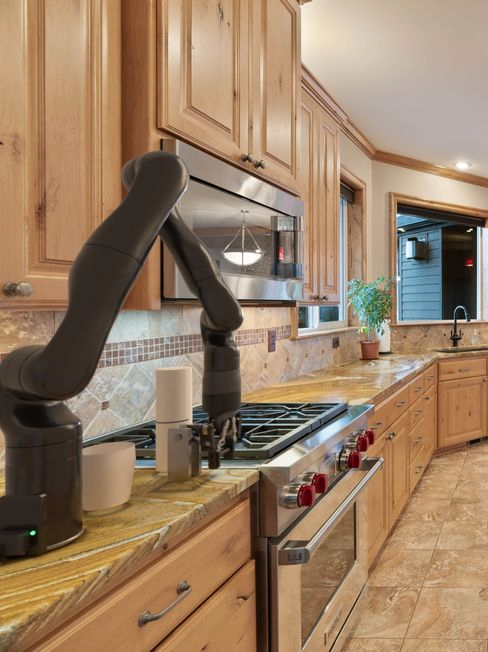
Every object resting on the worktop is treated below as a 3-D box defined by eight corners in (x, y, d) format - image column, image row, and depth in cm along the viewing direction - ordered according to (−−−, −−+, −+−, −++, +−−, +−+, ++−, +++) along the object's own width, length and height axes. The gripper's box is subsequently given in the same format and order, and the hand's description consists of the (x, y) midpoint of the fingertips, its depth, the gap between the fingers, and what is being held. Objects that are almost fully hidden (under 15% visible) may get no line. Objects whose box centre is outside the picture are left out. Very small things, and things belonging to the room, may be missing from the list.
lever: (228, 454, 108) (233, 445, 108) (215, 462, 102) (220, 453, 102) (184, 433, 107) (189, 423, 107) (168, 439, 101) (174, 430, 102)
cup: (91, 502, 94) (91, 443, 94) (144, 497, 97) (144, 440, 96) (63, 522, 85) (63, 457, 85) (122, 515, 88) (122, 452, 88)
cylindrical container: (148, 475, 109) (148, 369, 109) (177, 465, 116) (177, 365, 116) (170, 478, 107) (170, 370, 107) (199, 468, 114) (199, 367, 114)
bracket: (214, 475, 109) (214, 421, 109) (191, 490, 100) (191, 431, 100) (178, 476, 109) (178, 422, 108) (152, 491, 100) (152, 432, 100)
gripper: (221, 384, 112) (221, 454, 112) (184, 395, 98) (184, 475, 98) (254, 384, 112) (254, 453, 113) (222, 395, 98) (222, 474, 98)
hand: (221, 463), depth 105 cm, fingers closed on lever, 5 cm apart
